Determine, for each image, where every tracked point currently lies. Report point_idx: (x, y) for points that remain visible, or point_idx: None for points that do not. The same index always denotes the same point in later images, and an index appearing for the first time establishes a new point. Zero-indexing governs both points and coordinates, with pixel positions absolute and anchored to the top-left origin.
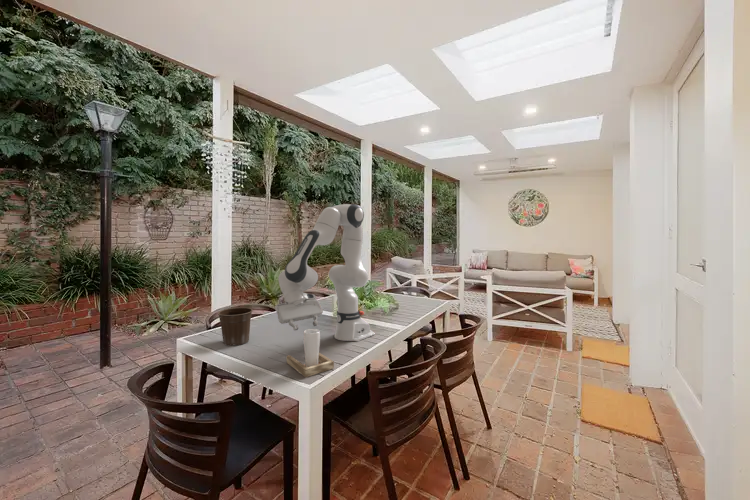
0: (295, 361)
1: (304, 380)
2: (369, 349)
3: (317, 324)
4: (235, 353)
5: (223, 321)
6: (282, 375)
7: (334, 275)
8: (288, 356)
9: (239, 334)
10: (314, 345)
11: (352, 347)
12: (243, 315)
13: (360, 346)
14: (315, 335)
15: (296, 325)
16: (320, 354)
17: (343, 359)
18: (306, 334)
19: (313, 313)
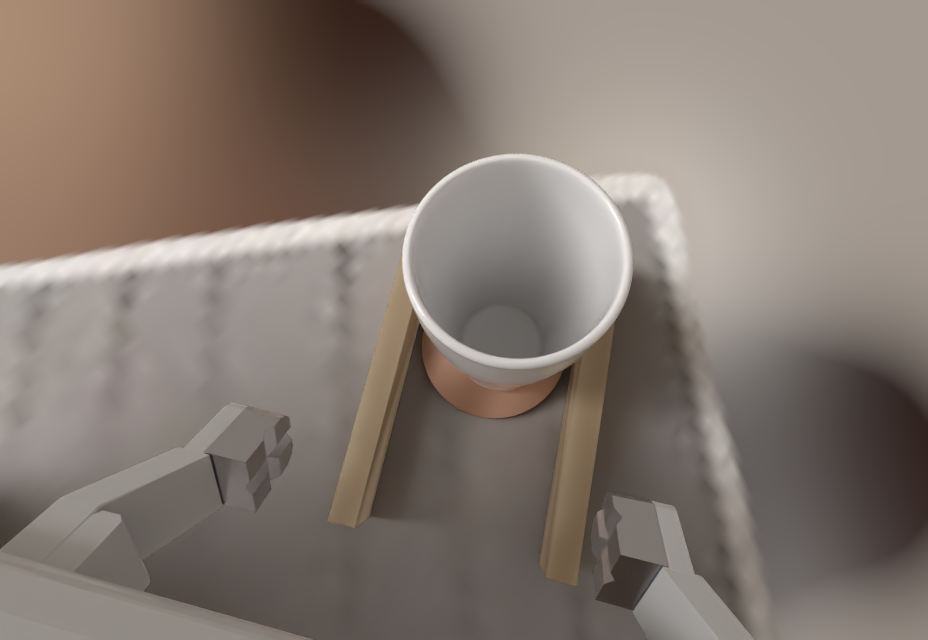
0: (592, 425)
1: (637, 253)
2: (44, 274)
3: (245, 409)
4: None
5: None
6: (700, 407)
7: None
8: (572, 561)
9: None
10: (535, 231)
11: (62, 391)
12: None
13: (18, 358)
14: (537, 170)
15: (642, 543)
16: (376, 382)
17: (277, 290)
18: (626, 241)
19: (46, 587)
